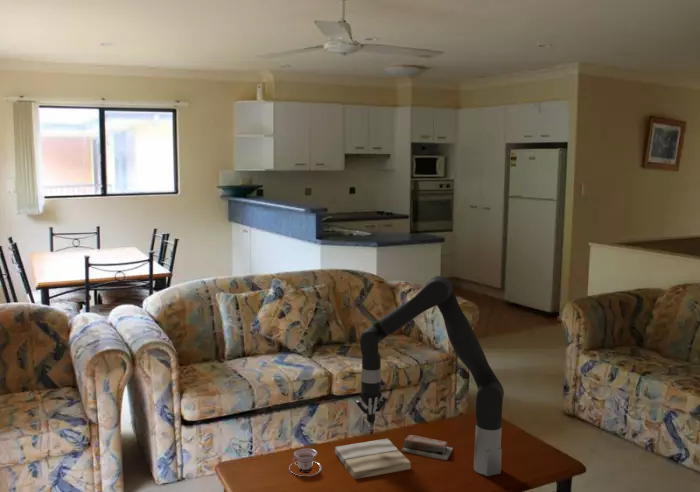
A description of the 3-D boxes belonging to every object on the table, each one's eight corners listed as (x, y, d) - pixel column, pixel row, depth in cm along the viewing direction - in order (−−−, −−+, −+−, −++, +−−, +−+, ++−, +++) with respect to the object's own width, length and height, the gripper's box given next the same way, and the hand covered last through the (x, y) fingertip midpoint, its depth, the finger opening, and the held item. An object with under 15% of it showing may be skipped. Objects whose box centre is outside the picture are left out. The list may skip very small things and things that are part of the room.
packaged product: (401, 441, 259) (409, 431, 268) (401, 452, 259) (408, 442, 268) (447, 449, 252) (453, 438, 261) (447, 461, 253) (453, 450, 262)
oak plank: (410, 468, 246) (410, 462, 245) (354, 479, 238) (354, 472, 237) (398, 456, 255) (398, 450, 255) (344, 466, 247) (344, 459, 246)
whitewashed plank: (397, 455, 255) (398, 449, 255) (343, 465, 247) (344, 459, 247) (387, 443, 264) (387, 438, 264) (334, 452, 256) (335, 446, 256)
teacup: (315, 459, 252) (315, 443, 251) (326, 474, 241) (326, 458, 240) (284, 464, 248) (284, 448, 247) (294, 479, 237) (294, 463, 236)
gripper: (359, 384, 249) (358, 429, 251) (391, 379, 254) (390, 423, 256) (351, 378, 255) (351, 421, 258) (382, 373, 260) (382, 416, 263)
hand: (370, 422), depth 257 cm, fingers closed
